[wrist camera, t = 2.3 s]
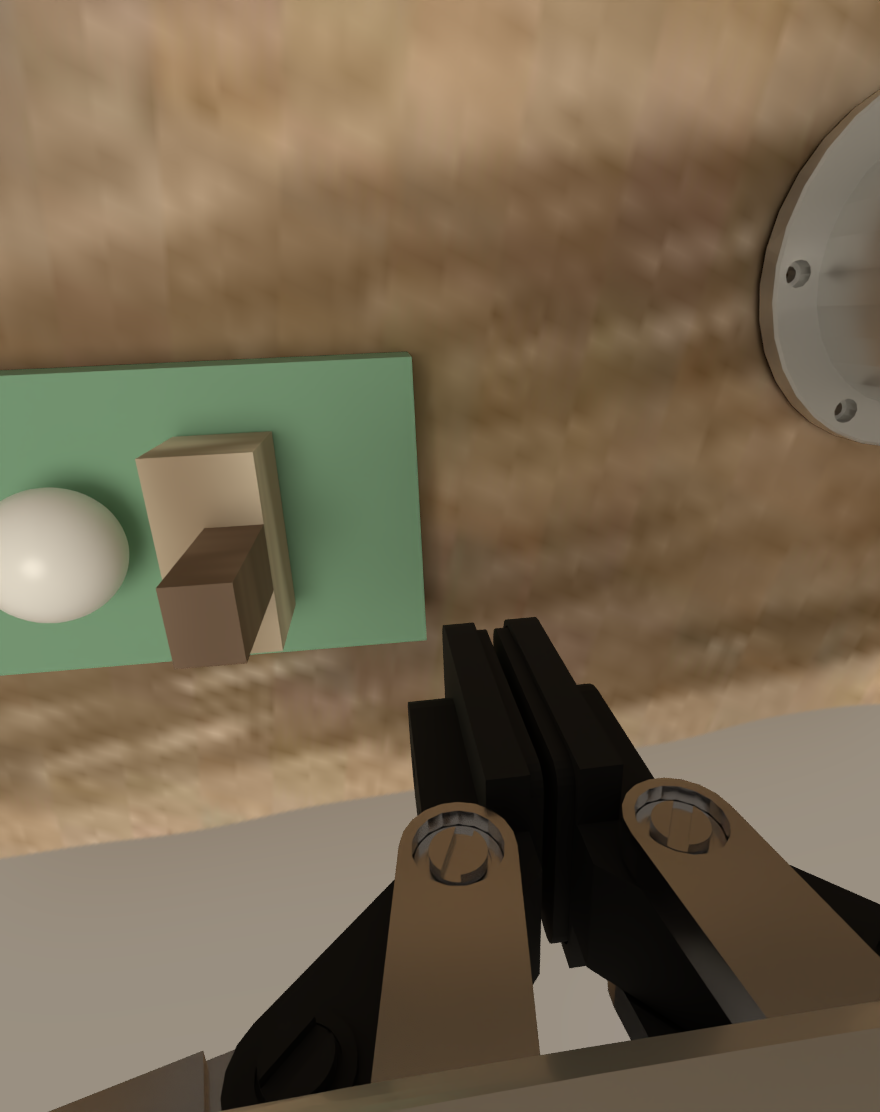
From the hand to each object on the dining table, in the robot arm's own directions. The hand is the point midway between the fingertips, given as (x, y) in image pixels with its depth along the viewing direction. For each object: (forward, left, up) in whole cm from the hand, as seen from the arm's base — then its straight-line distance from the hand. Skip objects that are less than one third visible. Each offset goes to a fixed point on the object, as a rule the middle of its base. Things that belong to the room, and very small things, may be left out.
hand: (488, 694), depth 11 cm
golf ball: (+12, 0, -9) cm, 14 cm away
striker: (+7, 0, -10) cm, 12 cm away
